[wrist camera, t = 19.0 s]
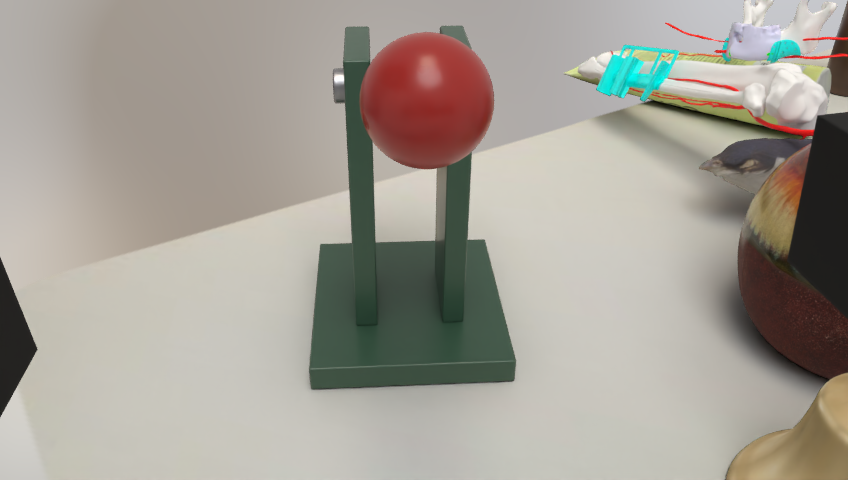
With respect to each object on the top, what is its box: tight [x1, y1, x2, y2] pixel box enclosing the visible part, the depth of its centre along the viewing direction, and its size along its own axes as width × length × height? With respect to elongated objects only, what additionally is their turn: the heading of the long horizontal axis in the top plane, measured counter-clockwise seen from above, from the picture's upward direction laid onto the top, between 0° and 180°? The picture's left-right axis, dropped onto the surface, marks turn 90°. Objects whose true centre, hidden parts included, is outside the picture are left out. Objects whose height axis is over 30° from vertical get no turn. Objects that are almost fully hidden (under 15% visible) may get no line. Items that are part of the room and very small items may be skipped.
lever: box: [360, 32, 494, 169], centre depth 25 cm, size 14×4×4 cm, turn 4°
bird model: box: [699, 138, 812, 195], centre depth 44 cm, size 4×17×5 cm, turn 89°
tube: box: [564, 50, 831, 126], centre depth 60 cm, size 6×5×20 cm
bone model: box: [578, 0, 848, 140], centre depth 51 cm, size 25×19×10 cm
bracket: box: [309, 26, 516, 389], centre depth 33 cm, size 10×9×14 cm
